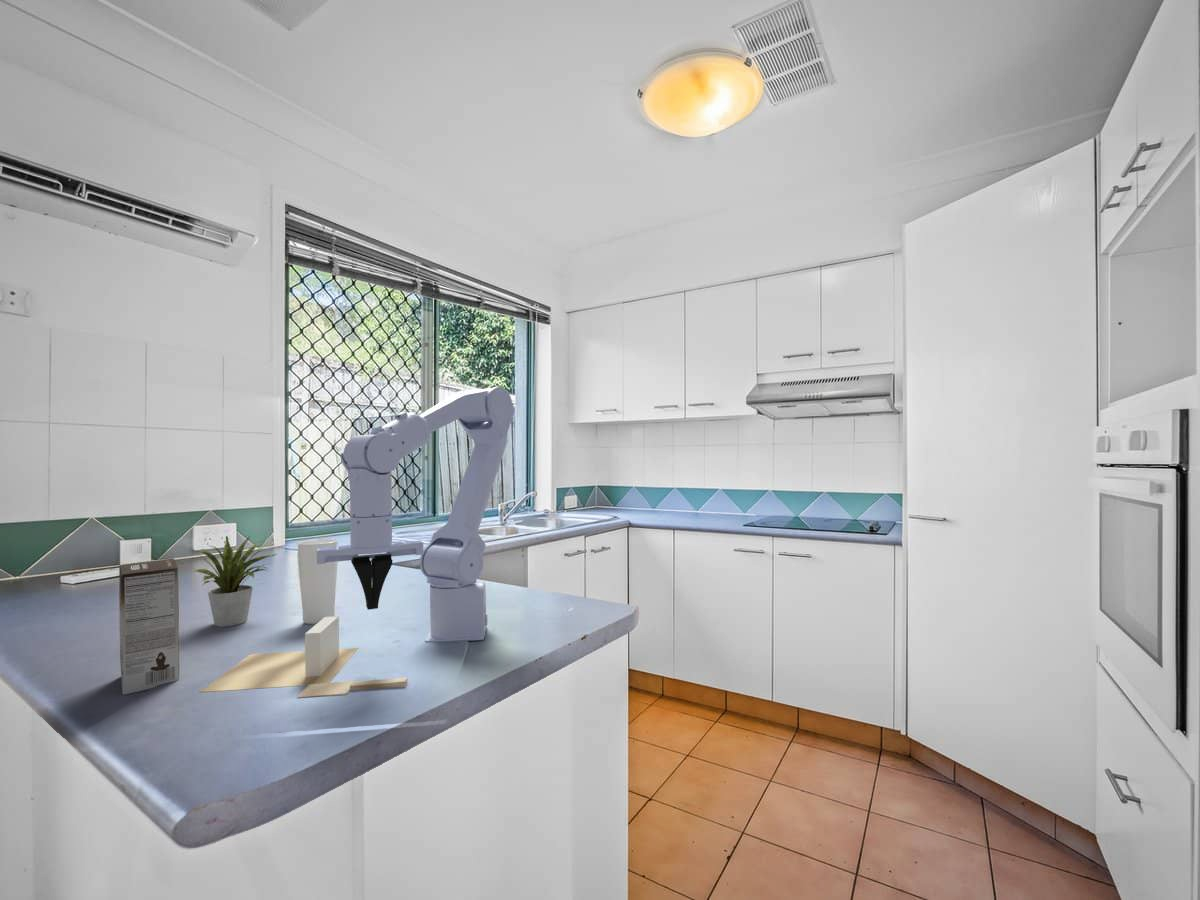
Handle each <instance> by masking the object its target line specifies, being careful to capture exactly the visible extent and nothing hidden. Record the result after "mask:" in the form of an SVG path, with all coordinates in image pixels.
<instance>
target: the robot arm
mask: <svg viewBox="0 0 1200 900" xmlns="http://www.w3.org/2000/svg"><path fill="white" fill-rule="evenodd" d="M515 411H516V408H515V407H514V403H513V401H512V397H511V395H510V393H509V390H507V388H505V387H502V386H494V387H491V388H482V389H471V390H469V389H461V390H460V391H458V392H455V393H452V394H450V396H449V397H447V398H446V399H445V398H444V400H442V401H440V402H439V403H437V404H435V405H434V406H432V407H430V408H428V409H427V410H426V411H423V413H421V414H417V413H414V412H407V411H401V412H398V413H396V414H394V417H395V419H394V420H392V421H389V422H387V423H385V424H383V425H375V426H373V427H371V432H369V434H360V435H358V434H357V435H355V436H352V437H351V438H350V439H349V440H348V441H347V443H346V444H345V446H344V449H343V452H342V453H341V452H340V454H339V455H340V462H341V464H342V465H343V467H344V468H345V470H346V471H347V475H348V476H347V478H348V479H347V480H348V481H349V512H350V513H349V514H350V516H349V517H350V519H349V520H350V521H349V523H350V524H349V525H350V526H349V527H350V535H349V537H350V544H347V545H340V546H339V545H338V546H337V547H330V548H320V549H317V564H325V563H327V562H345V561H346V562H348V561H350V562H351V564H352V567H353V569H354V570H355V573H356V574H357V576H358V579H359V581H360V584H361V587H362V590H363V593H364V598H365V604H366V605H365V606H366V609H367V610H368V611H369V610H376V609H379V604H380V602H379V601H380V597H381V594H382V593H381V592H382V590H383V586H384V584H385V581H386V579H387V576H388V574H389V572H390V570H391V568H392V565H393V559H392V557H398V556H399V557H401V556H402V557H403V556H414V555H415V556H420V558H419V569H420V570H421V573H422V574H423V576H425V577H426V583H427V584H429V606H430V609H429V611H430V614H429V615H430V620H429V622H430V626H429V628H430V630H429V632H428V634H427V635H426V637H425V639H424V642H425V643H438V642H439V643H440V642H453V641H455V642H456V641H457V642H458V641H468V642H470V641H471V642H472V641H484V639H485V636H486V631H487V626H488V614H487V590H486V582H483V581H481V582H480V581H479V582H477V579H478V578H479V577H480V575H481V573H482V571H483V569H484V568H483V567H484V551H485V549H486V546H487V545H486V543H485V541H484V540H483V538H482V537H481V536H480V534H479V533H478V532H479V529H480V526H481V522H482V520H483V518H484V517H483V516H484V513H485V512H486V511H485V510H486V508H487V504H488V502H489V498H490V495H491V493H492V489H493V486H494V483H495V480H496V477H497V475H498V471H499V468H500V466H501V462H502V460H503V456H504V453H505V450H506V448H507V442H508V433H509V429H510V427H511V424H512V422H513V417H514V414H515ZM456 421H458V422H459V424H460V425H461V427H462V428H463V429H464V431H465V434H467V436H468V437H469V438H470V439H471V440H472V441H473V442H474V447H473V449H472V452H471V455H470V458H469V461H468V463H467V467H466V469H465V472H464V475H463V477H462V480H461V482H460V483H461V484H460V485H459V489H458V492H457V494H456V496H455V500H454V502H453V505H452V508H451V511H450V514H449V517H448V520H447V522H446V523H445V524H444V525H443V526H441V527H440V528H439V529H437V531H435V532H433V534H432V536H431V539H430V541H429V542H428V544H427V545H426V546H424V541H422V540H409V541H408V540H405V541H404V540H402V541H398V540H397V541H393V512H392V511H393V502H392V501H393V500H392V499H393V498H392V497H393V495H392V493H393V492H392V491H393V490H392V485H393V484H392V472H393V471H395V470H396V469H397V468H398V466H399V465H400V461H401V460H402V459H403V458H405V457H406V456H408V455H410V454H411V453H413V452H415V451H417V450H418V449H420V448H422V447H423V446H425V445H426V444H427V443H428V442H429V441H430V438H431V433H433V432H435V431H437V430H439V429H441V428H443V427H445V426H447V425H449V424H451V423H453V422H456Z"/></svg>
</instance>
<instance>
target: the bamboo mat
mask: <svg viewBox="0 0 1200 900" xmlns="http://www.w3.org/2000/svg"><path fill="white" fill-rule="evenodd" d="M358 650H359V647H353V648H351V647H350V648H339V656H338V657H337V658H336V660H335V661H334V662H333V663H332V664H331V665H330V666H329V667H328V668H327V670H326V671H325V672H324V673H323V674H322V675H321V676H311V677H306V676H305V650H302V651H300V650H299V651H284V652H283V651H281V652H269V653H268V652H266V653H251V654H248V655H247V656H246V657H244V658H243V659H242V660H240V661H239V662H238V663H237V664H235V665H234V666H233V667H231V668H230V669H228V670H227V671H226V672H224V673H223V674H222V675H221V676H219V677H217V678H216V679H215V680H213V681H212V682H211V683H210V684H208V685H207V686H205V687H204V688H203V689H201V690H200V691H199V693H214V692H228V691H240V690H241V691H243V690H256V689H257V690H258V689H270V688H285V687H286V688H287V687H288V688H289V687H303V686H308V685H310V684H322V683H332V682H331V681H333V679H334V678H335V677H336V675H338V674H339V673H340V671H341V670H342V669H343V668H344V666H345V665H346V664H347V663H348V662H349V660H350V659H351V658H352V657H353V656H354V654H355V653H356V651H358Z"/></svg>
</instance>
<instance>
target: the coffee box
mask: <svg viewBox="0 0 1200 900" xmlns="http://www.w3.org/2000/svg"><path fill="white" fill-rule="evenodd" d="M179 569H180V568H179V566H178V564H177V562H176V560H175V559H174V558H166V559H160V560H159V559H158V560H150V561H147V560H146V561H139V562H131V563H124V564H119V571H118V572H119V575H118V577H119V579H118V580H119V581H118V589H119V591H118V592H119V593H118V594H119V595H118V596H119V599H118V600H119V601H118V602H119V604H118V605H119V652H120V654H119V655H120V675H121V676H120V677H121V690H122V691H121V693H122V695H125V696H126V695H129V694H133V693H134V694H135V693H138V692H143V691H147V690H151V689H154V688H156V687H157V686H160V685H163V684H164V685H165V684H167V683H172V682H175V681H179V680H180V594H179V593H180V591H179V590H180V589H179V588H180V582H179V581H180V580H179V579H180V578H179V576H180V574H179V571H180V570H179Z"/></svg>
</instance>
